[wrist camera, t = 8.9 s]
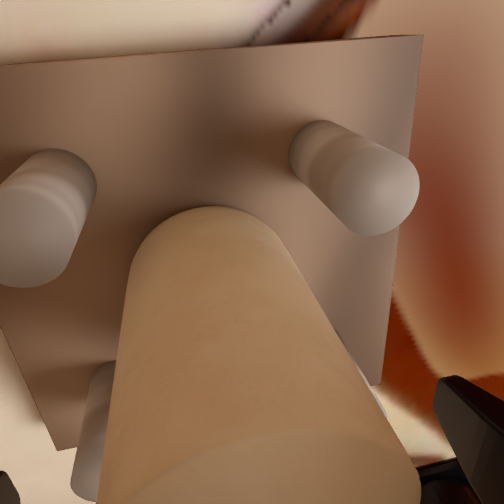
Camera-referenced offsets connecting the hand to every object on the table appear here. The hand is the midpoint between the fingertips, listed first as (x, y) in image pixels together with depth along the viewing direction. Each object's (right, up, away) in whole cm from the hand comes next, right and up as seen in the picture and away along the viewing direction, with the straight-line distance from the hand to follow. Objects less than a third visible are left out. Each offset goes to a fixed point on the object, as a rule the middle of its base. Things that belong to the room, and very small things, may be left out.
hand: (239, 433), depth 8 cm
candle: (-1, +3, +6) cm, 7 cm away
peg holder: (-2, +4, +7) cm, 8 cm away
